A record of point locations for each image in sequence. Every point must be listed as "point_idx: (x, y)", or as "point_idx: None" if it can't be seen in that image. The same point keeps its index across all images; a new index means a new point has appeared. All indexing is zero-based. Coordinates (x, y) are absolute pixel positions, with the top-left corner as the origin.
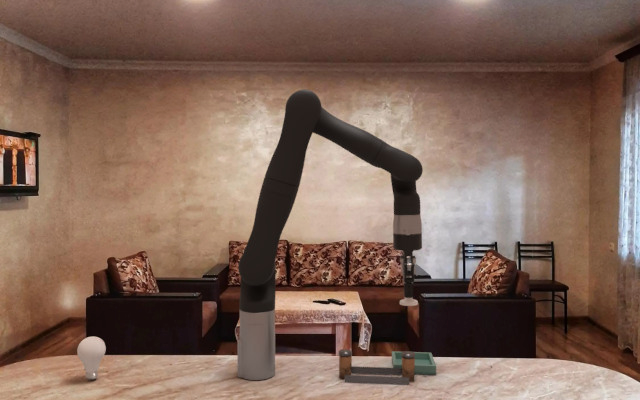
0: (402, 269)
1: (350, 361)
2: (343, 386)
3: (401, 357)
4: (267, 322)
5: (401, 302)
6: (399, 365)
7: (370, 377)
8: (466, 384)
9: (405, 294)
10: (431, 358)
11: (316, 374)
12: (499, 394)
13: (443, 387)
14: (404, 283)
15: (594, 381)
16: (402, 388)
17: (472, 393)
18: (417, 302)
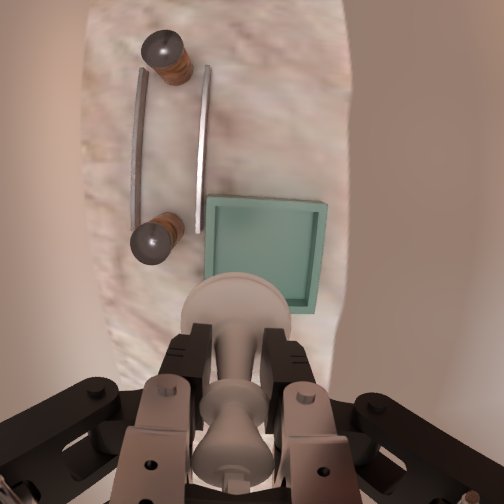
0: (119, 470)
1: (156, 70)
2: (122, 73)
3: (313, 229)
4: None
5: (205, 286)
6: (206, 213)
7: (134, 131)
8: (159, 349)
9: (192, 334)
10: None
11: (200, 8)
12: (123, 385)
13: (133, 301)
14: (162, 377)
15: None
16: (115, 209)
17: (115, 346)
18: (216, 370)
